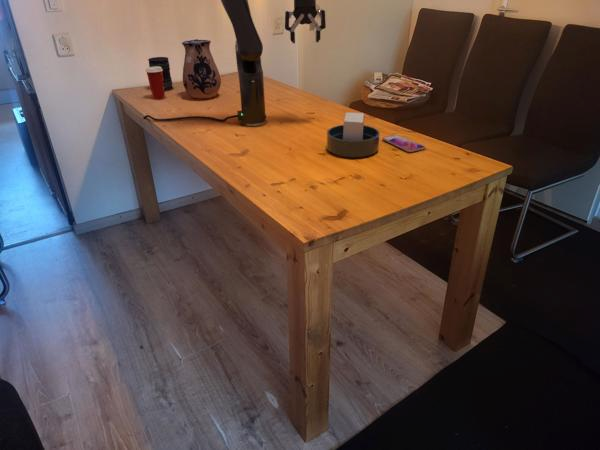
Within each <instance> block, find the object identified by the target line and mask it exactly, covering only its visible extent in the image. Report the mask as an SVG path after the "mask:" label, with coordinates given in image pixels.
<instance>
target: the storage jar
mask: <svg viewBox="0 0 600 450" xmlns="http://www.w3.org/2000/svg"><path fill="white" fill-rule="evenodd" d="M147 61H148V67H154V66H158V67H161V68H162V70H163V71H162V73H163V82H164V91H165V92H168V91H173V89H174V87H173V80H172V79H173V78H172V75H171V67H170V61H169V57H168V56H156V57H149V58H147Z"/></svg>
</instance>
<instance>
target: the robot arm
mask: <svg viewBox="0 0 600 450" xmlns="http://www.w3.org/2000/svg"><path fill="white" fill-rule="evenodd" d="M220 2H221V5H222V7H223V9H224V11H225V13H226V15H227V17H228V19H229V20H230V23H231V26H232V29H233V32H234V36H235V43H234V49H235V60H236V66H237V67H236V68H237V73H238V83H239V94H240V106H241V110H236V111H237V114H234V115H230V116H226V117H225V118H217V117H212V116H205V115H203V116H202V115H189V116H188V115H187V116H180V117H168V118H156V117H153V116H152V115H149V114H147V115H145V116H143V119H142V120H146V119H147V118H148V119H150V120H153V121H155V122H169V121H179V120H181V121H182V120H189V119H190V120H191V119H203V120H212V121H216V122H221V123H223V122H226V121H228V120H230V119H235V118H237V122H242V123H241V124H242V126H243V127H259V126H260V127H261V126H263V125H265V124H267V115H266V97H265V96H266V95H265V81H264V70H263V67H262V66H263V65H262V58H261V57H262V54H263V51H264V46H263V41H262V40H261V37H260V36H259V32H258V30H257V27H256V25H255V22H254V21H253V17H252V14H251V8H250V4H249V0H220ZM317 15H318V17H319V18H320V25H319V23H318V22H317V20H315V18H316V17H317ZM292 16H293V17H294V20H293V23H292V24H291V26H290V19H291V18H292ZM305 24H306V25H311V24H312V26H313V27H314V28H315V29H316V30H315V43H319V42H320V41H321V31H322V30H325V29H326V28H327V27H326V24H327V23H326V10H324V9H320V10H317V0H293V11H288V10H286V11H285V12H284V30H286V31H288V32H289V40H290V42H292V44H295V43H296V32H295V31H296V29H297V27H299V25H305Z"/></svg>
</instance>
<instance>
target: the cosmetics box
mask: <svg viewBox="0 0 600 450" xmlns="http://www.w3.org/2000/svg"><path fill="white" fill-rule="evenodd" d="M342 125H343V140H348V141H361V140H363V127H364V125H365V113H364V112H345V116H344V119H343V124H342Z"/></svg>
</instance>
